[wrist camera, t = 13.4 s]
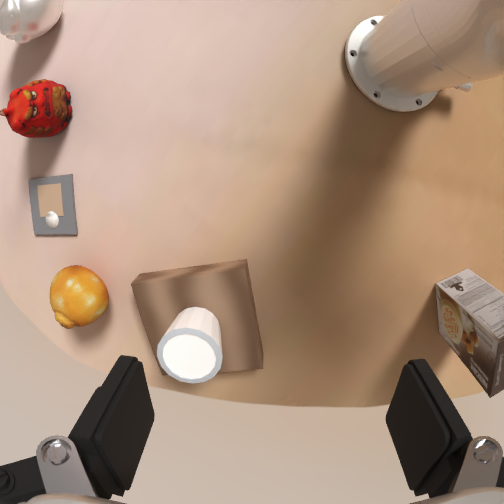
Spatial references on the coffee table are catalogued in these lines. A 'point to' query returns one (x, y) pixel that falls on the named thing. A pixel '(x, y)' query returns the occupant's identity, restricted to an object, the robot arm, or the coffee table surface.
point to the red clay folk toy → (38, 109)
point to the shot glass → (192, 346)
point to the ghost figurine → (28, 18)
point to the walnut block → (204, 296)
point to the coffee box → (474, 326)
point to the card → (53, 205)
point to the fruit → (77, 296)
